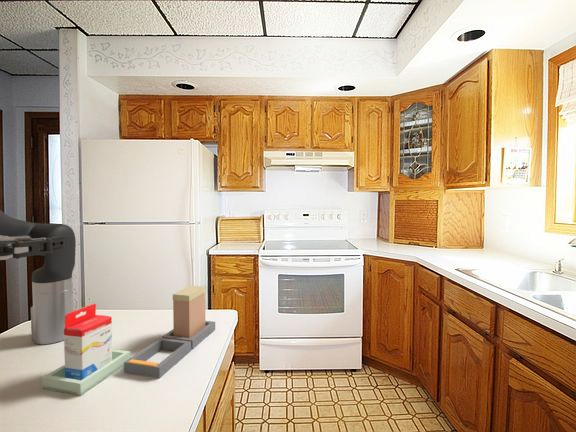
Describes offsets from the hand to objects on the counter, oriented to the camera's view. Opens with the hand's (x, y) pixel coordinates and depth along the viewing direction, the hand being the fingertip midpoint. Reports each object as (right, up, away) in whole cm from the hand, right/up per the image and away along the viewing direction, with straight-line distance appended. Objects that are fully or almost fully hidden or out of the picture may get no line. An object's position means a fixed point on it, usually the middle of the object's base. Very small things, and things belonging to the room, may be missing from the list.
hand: (46, 241), depth 61 cm
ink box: (+2, -31, +10) cm, 33 cm away
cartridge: (+19, -31, +30) cm, 47 cm away
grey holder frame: (+17, -31, +23) cm, 42 cm away
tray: (+2, -32, +10) cm, 33 cm away
